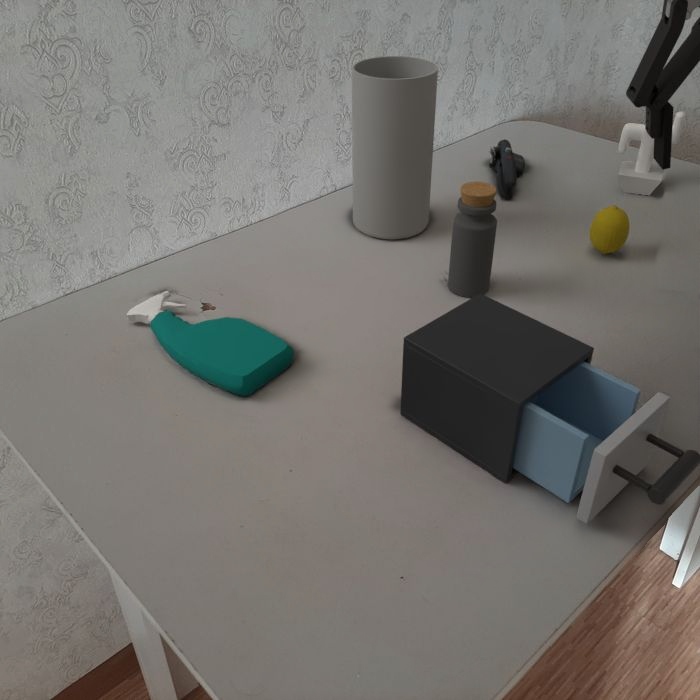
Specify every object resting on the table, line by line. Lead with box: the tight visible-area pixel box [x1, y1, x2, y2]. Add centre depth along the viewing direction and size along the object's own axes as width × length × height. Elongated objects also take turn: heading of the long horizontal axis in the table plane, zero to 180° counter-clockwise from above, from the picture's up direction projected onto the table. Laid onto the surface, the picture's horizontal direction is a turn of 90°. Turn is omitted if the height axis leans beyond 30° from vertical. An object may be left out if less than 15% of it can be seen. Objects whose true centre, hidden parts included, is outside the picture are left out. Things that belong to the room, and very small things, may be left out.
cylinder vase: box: [351, 55, 439, 240], centre depth 111 cm, size 12×12×25 cm
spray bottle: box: [126, 290, 295, 397], centre depth 91 cm, size 3×11×25 cm
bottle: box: [447, 181, 498, 298], centre depth 98 cm, size 6×6×15 cm
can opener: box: [488, 139, 526, 200], centre depth 131 cm, size 18×7×6 cm, turn 171°
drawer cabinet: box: [399, 294, 595, 485], centre depth 76 cm, size 15×13×11 cm
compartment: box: [513, 361, 700, 525], centre depth 69 cm, size 18×11×9 cm, turn 43°
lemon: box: [589, 204, 630, 255], centre depth 107 cm, size 6×6×8 cm
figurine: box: [617, 110, 687, 196], centre depth 125 cm, size 7×9×15 cm
